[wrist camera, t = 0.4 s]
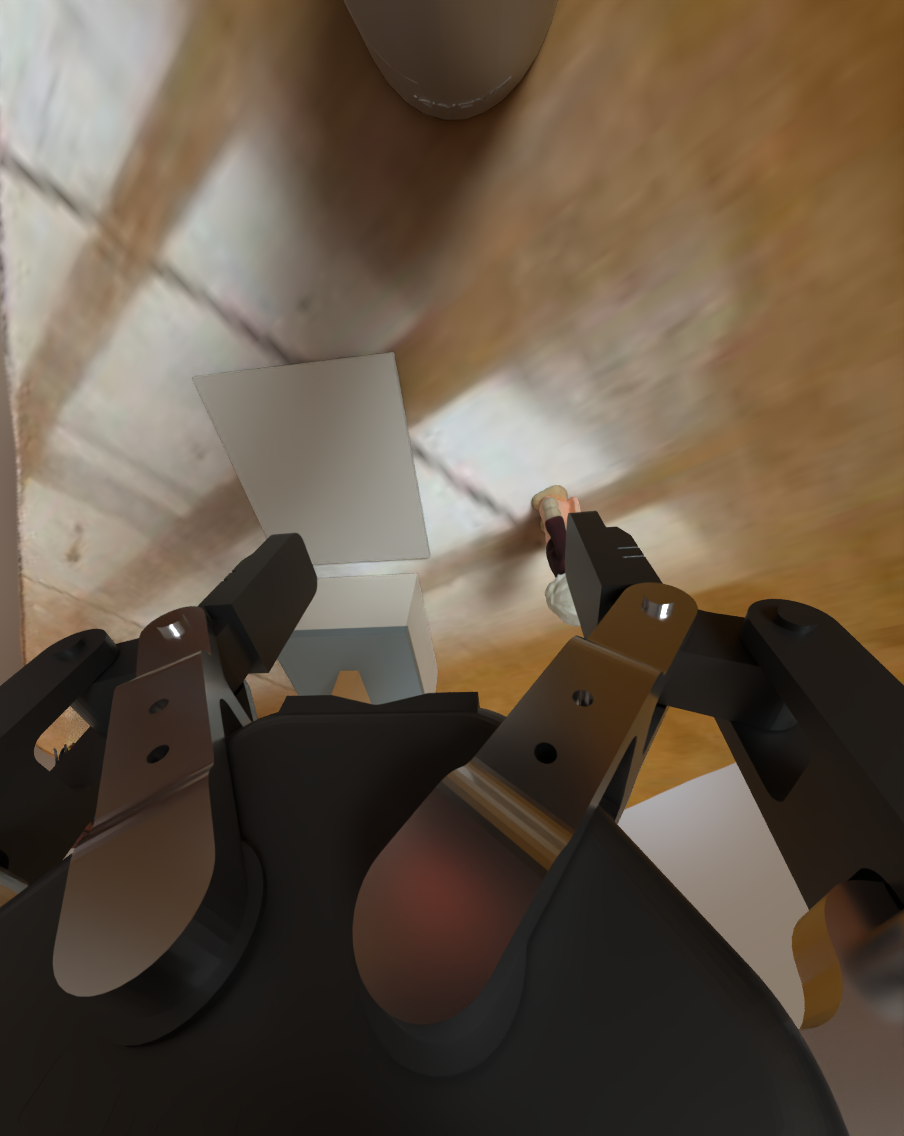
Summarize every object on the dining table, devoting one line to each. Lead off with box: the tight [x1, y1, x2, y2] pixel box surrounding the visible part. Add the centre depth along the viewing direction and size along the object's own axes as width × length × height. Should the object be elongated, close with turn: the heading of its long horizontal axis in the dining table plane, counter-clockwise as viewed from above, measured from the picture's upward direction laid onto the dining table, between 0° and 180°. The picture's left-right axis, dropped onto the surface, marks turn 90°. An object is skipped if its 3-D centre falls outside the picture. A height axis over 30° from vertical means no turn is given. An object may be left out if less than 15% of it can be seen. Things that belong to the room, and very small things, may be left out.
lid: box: [277, 626, 425, 705], centre depth 34 cm, size 14×11×6 cm
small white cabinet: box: [294, 573, 438, 694], centre depth 38 cm, size 14×11×7 cm
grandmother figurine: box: [532, 485, 581, 626], centre depth 26 cm, size 8×4×13 cm, turn 32°
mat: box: [192, 352, 430, 565], centre depth 30 cm, size 16×14×1 cm
